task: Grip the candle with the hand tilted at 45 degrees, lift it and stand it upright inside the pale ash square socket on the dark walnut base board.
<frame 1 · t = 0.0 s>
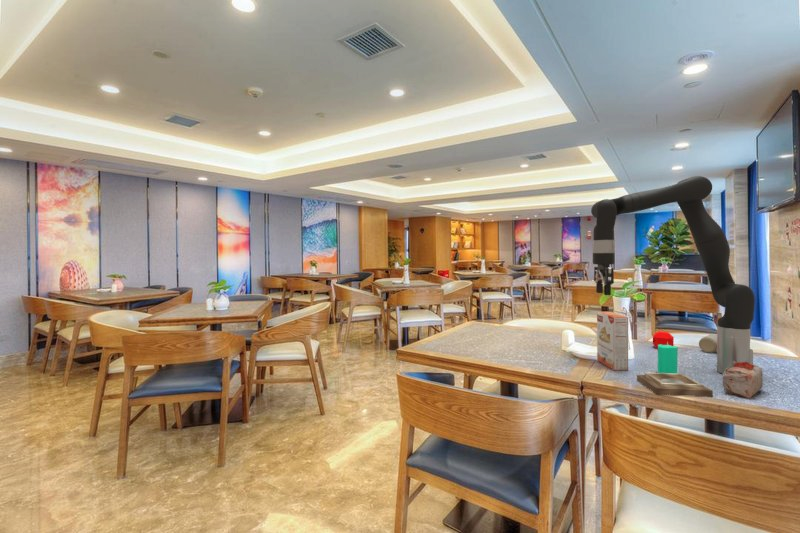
hand: (603, 293, 150), 29 cm above the table, tool pointing down, fingers open, 8 cm apart
candle: (667, 374, 143), on the table
walnut base board: (672, 388, 129), on the table
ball: (663, 348, 182), on the table
food item: (742, 393, 124), on the table
cracker box: (611, 366, 155), on the table
beige rounded cylinder: (715, 353, 174), on the table
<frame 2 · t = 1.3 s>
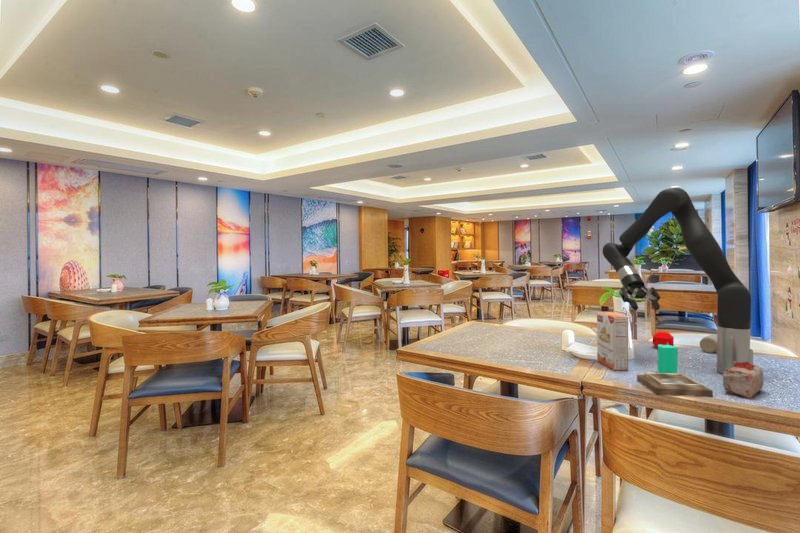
hand: (647, 309, 154), 23 cm above the table, tool tilted 45°, fingers open, 8 cm apart
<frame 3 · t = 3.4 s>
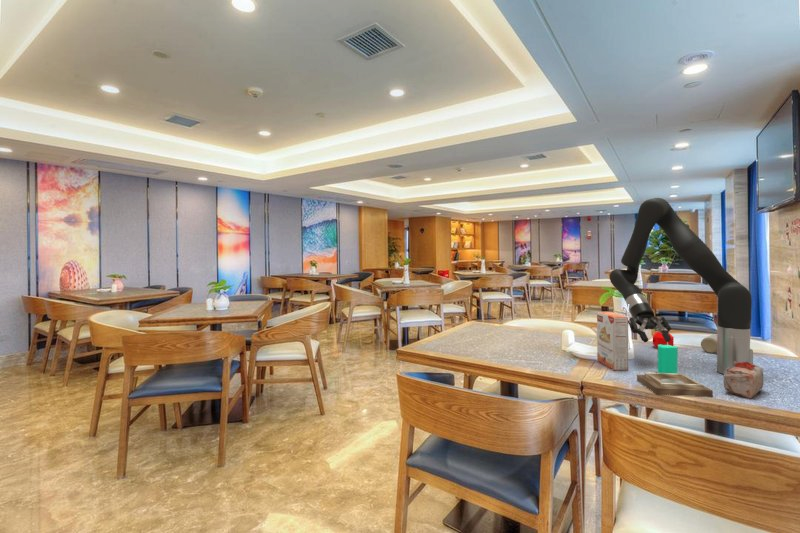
hand: (657, 341, 149), 11 cm above the table, tool tilted 45°, fingers open, 8 cm apart
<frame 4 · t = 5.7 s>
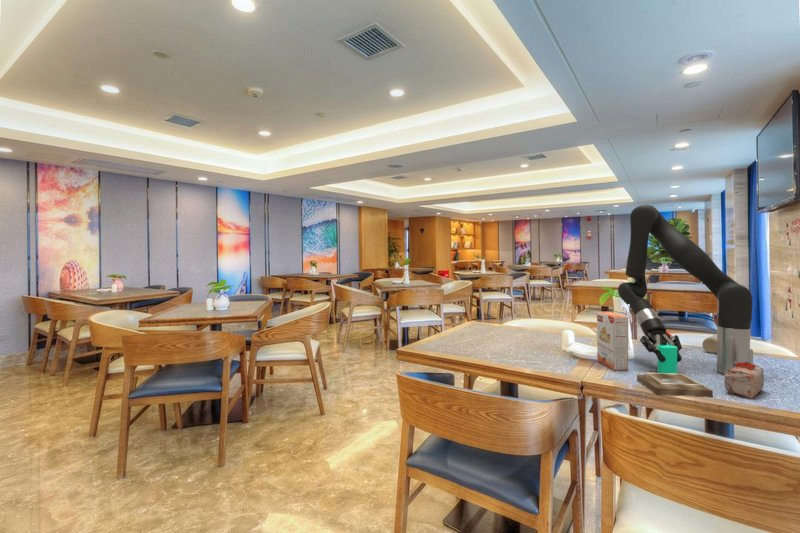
hand: (671, 360, 141), 5 cm above the table, tool tilted 45°, fingers closed on candle, 5 cm apart
candle: (667, 374, 143), on the table, touching gripper
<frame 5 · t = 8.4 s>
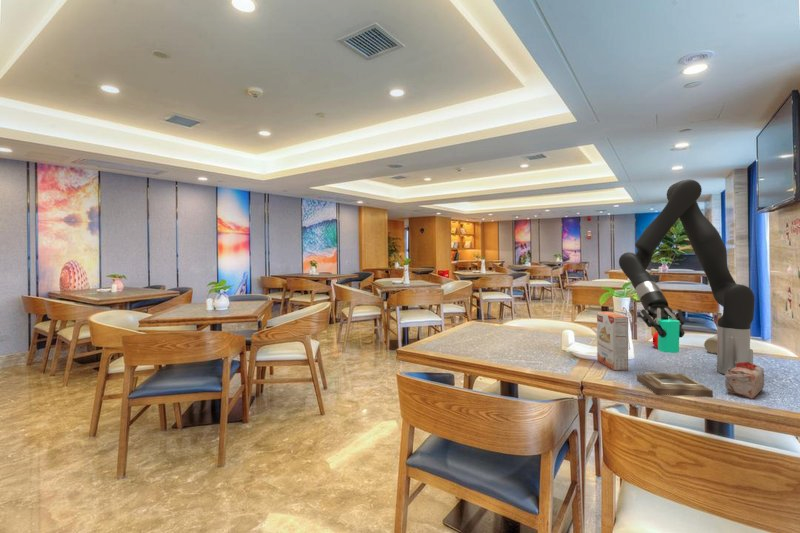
hand: (673, 336, 130), 17 cm above the table, tool tilted 45°, fingers closed on candle, 5 cm apart
candle: (668, 351, 132), point 11 cm above the table, touching gripper
when the fingers open (8 cm above the table, at t = 11.3 s): candle stays where it is, resting on walnut base board.
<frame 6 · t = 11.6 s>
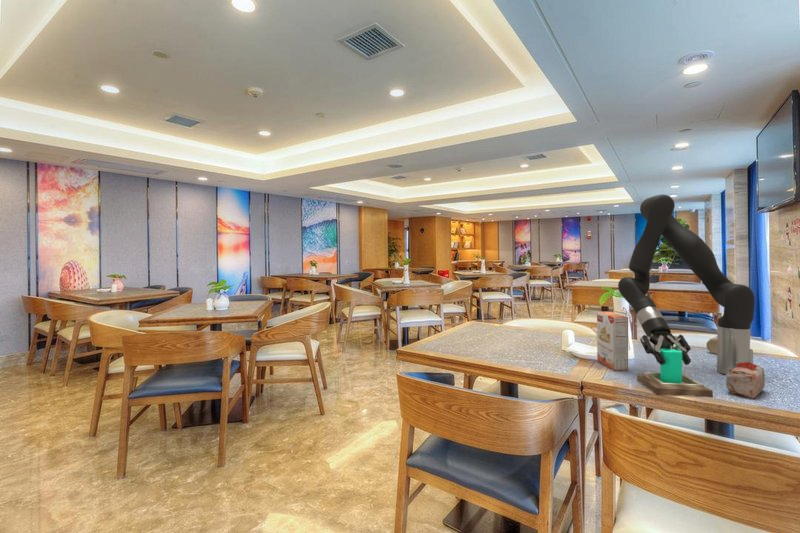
hand: (675, 363, 127), 9 cm above the table, tool tilted 45°, fingers open, 8 cm apart
candle: (670, 382, 129), point 2 cm above the table, touching walnut base board
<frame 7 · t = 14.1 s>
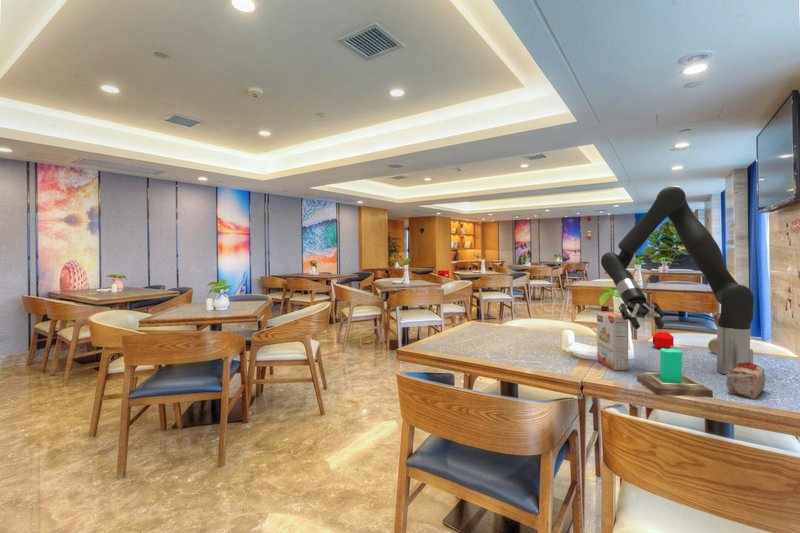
hand: (649, 327, 140), 18 cm above the table, tool tilted 45°, fingers open, 8 cm apart
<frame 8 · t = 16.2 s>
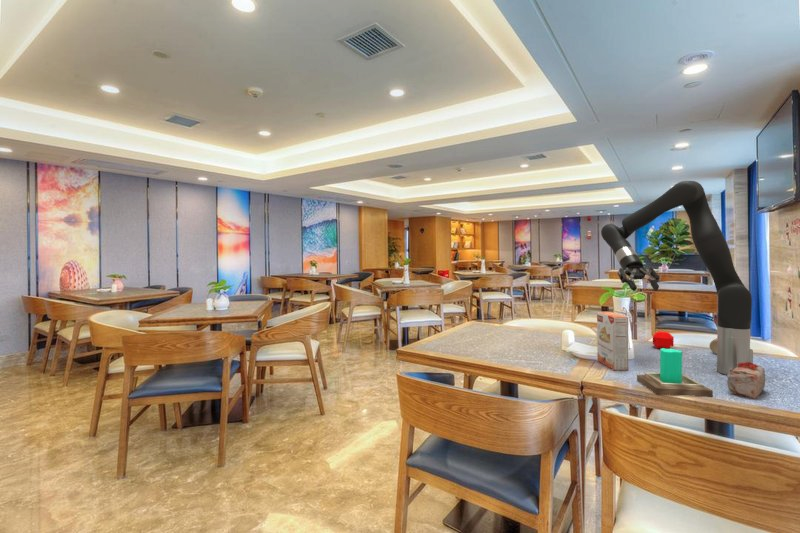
hand: (646, 289, 152), 31 cm above the table, tool tilted 45°, fingers open, 8 cm apart
at the end: candle 0.5 cm off-centre on the walnut base board, point 1.9 cm above the walnut base board's base; candle tilted 0°; the gripper is holding nothing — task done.
